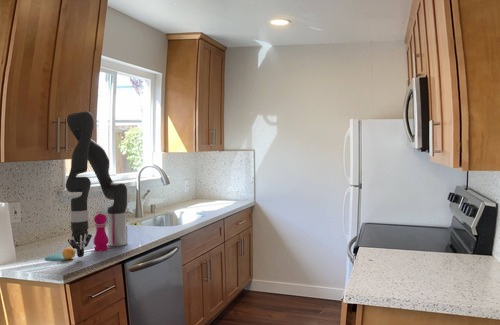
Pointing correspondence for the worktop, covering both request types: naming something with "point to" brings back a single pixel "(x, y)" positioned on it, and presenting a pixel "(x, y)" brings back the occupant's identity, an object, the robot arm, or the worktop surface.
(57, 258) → the disc
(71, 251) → the ball
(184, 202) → the worktop surface
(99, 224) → the pepper mill
